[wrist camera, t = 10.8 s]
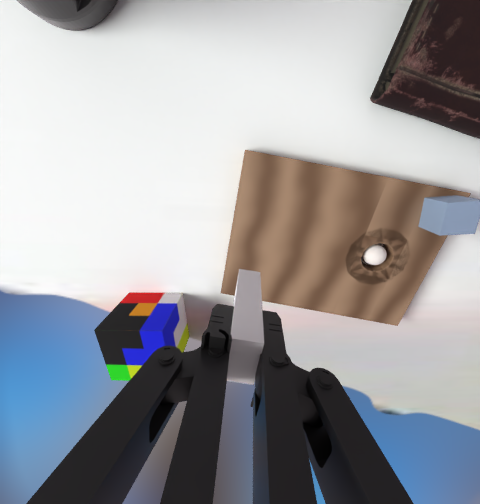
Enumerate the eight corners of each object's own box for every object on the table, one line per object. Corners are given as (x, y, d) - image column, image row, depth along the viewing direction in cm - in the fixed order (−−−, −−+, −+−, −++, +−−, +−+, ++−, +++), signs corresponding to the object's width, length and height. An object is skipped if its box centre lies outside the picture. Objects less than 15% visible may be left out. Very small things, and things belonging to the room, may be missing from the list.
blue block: (424, 197, 31) (447, 203, 27) (456, 195, 30) (485, 200, 27) (418, 226, 32) (439, 235, 28) (449, 224, 32) (474, 233, 28)
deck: (222, 285, 40) (220, 293, 38) (245, 150, 32) (245, 149, 30) (389, 316, 41) (397, 325, 38) (455, 190, 32) (471, 193, 30)
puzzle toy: (182, 292, 42) (162, 330, 32) (189, 336, 45) (172, 381, 36) (129, 292, 42) (94, 330, 33) (140, 335, 46) (111, 380, 37)
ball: (390, 242, 34) (373, 249, 37) (372, 239, 34) (356, 246, 37) (393, 263, 33) (375, 268, 36) (375, 260, 33) (358, 265, 36)
